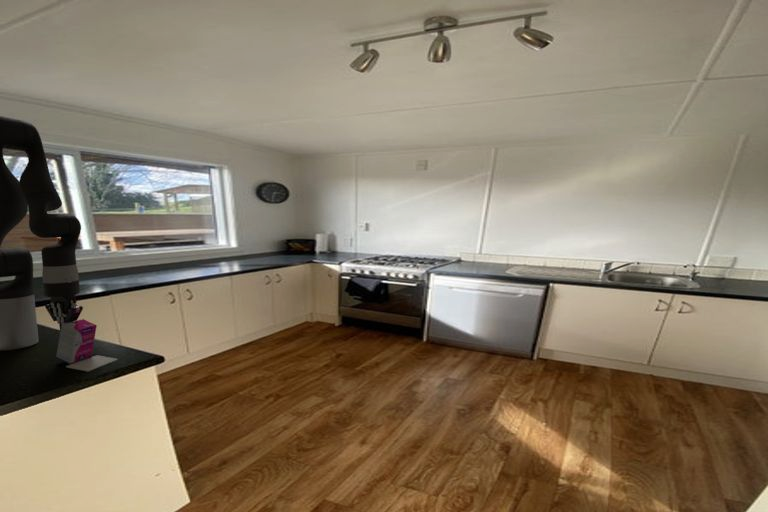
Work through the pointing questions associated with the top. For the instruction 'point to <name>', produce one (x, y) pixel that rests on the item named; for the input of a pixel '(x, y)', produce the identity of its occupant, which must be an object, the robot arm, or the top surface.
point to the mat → (92, 363)
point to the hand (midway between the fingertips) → (66, 334)
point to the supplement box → (76, 341)
